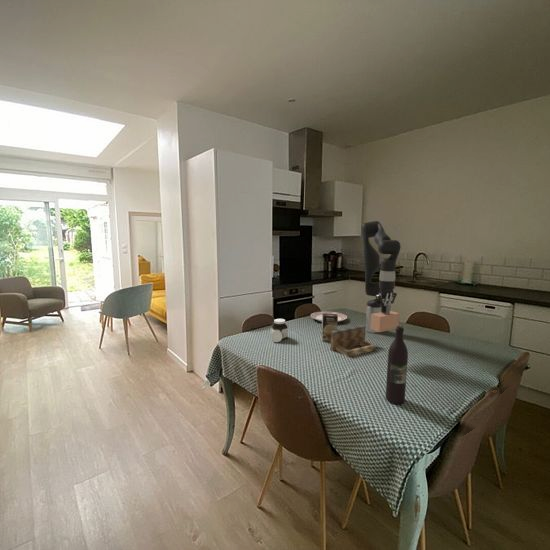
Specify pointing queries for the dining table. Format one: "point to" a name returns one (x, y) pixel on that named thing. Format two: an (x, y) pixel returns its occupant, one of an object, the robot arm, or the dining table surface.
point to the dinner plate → (319, 314)
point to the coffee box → (328, 325)
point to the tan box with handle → (384, 320)
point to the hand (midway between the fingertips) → (385, 312)
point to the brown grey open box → (350, 341)
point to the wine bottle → (397, 369)
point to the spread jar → (279, 330)
